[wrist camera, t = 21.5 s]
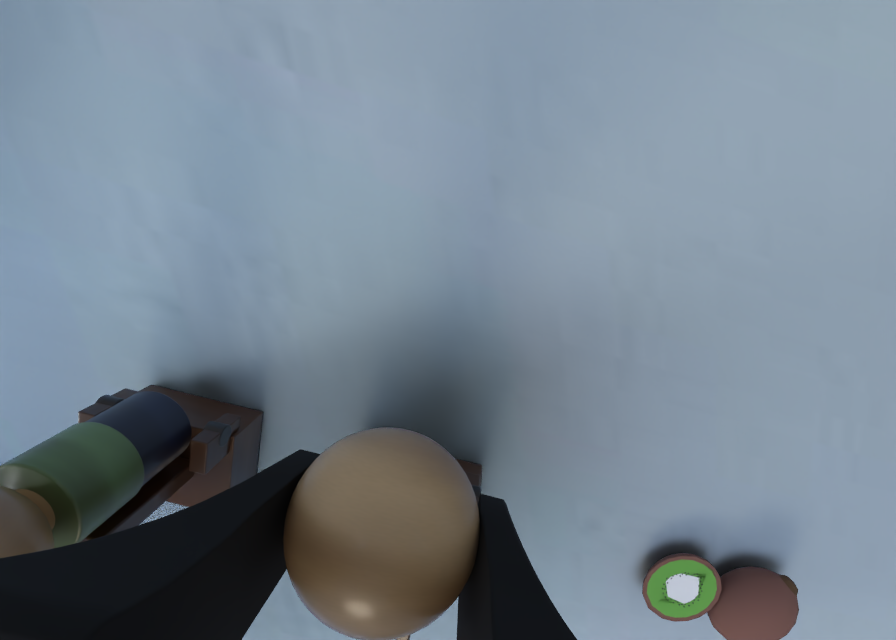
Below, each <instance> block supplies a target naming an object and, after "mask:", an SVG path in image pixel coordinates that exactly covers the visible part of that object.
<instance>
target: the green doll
mask: <svg viewBox="0 0 896 640" xmlns="http://www.w3.org/2000/svg"><path fill="white" fill-rule="evenodd" d="M191 435H192V429H191V424H190V421H189V418H188V416H187V414H186V413H185V411H184V410H183V408H182V407H181V406H180V405H179V404H178V403H177V402H176V401H174V400H173V399H172V398H170V397H168V396H167V395H164V394H162V393H159V392H154V391H143V392H138V393H136V394H134V395H132V396H130V397H128V398H127V399H125V400H123V401H121V402H119V403H118V404H116V405H114V406H112V407H111V408H109V409H107V410H105V411H103V412H102V413H100V414H98V415H96V416H95V417H93V418H91V419H89V420H88V421H86V422H83V423H78V424H75V425H73V426H71V427H69V428H67V429H65V430H64V431H62V432H60V433H58V434H56V435H55V436H53V437H51V438H49V439H47V440H46V441H44V442H42V443H40V444H38V445H37V446H35V447H33V448H31V449H29V450H28V451H26V452H24V453H22V454H20V455H19V456H17V457H15V458H13V459H11V460H10V461H8V462H6V463H4V464H2V465H1V466H0V558H5V557H10V556H16V555H21V554H27V553H33V552H38V551H43V550H48V549H53V548H58V547H62V546H66V545H71V544H75V543H79V542H81V541H82V540H83V539H84V538H86V537H87V536H88V535H89V534H90V533H92V532H93V531H94V530H95V529H96V528H98V527H99V526H100V525H101V524H102V523H104V522H105V521H106V520H107V519H108V518H109V517H111V516H112V515H113V514H114V513H115V512H117V511H118V510H119V509H120V508H121V507H123V506H124V505H125V504H126V503H127V502H129V501H130V500H131V499H132V498H133V497H134V496H135V495H136V494H137V493H138V492H139V490H140V489H141V487H142V486H143V485H144V484H146V483H147V482H148V481H149V480H150V479H152V478H153V477H154V476H155V475H156V474H158V473H159V472H160V471H161V470H162V469H164V468H165V467H166V466H167V465H168V464H170V463H171V462H172V461H173V460H174V459H176V458H177V457H178V456H179V455H180V454H182V453H183V452H184V451H185V450H186V449H187V447H188V445H189V443H190V440H191Z"/></svg>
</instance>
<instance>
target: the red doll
mask: <svg viewBox="0 0 896 640" xmlns="http://www.w3.org/2000/svg"><path fill="white" fill-rule="evenodd" d="M479 534H480V518H479V509H478V505H477V500H476V496H475V493H474V491H473V488H472V485H471V483H470V481H469V479H468V477H467V475H466V473H465V472H464V470H463V469H462V467H461V466H460V464H459V463H458V462H457V460H456V459H455V458H454V457H453V456H452V455H451V454H450V453H449V452H448V451H447V450H446V449H445V448H443V447H442V446H441V445H440V444H438V443H437V442H435V441H434V440H432V439H430V438H429V437H426V436H424V435H422V434H420V433H417V432H414V431H410V430H407V429H401V428H391V427H382V428H372V429H368V430H364V431H360V432H357V433H354V434H352V435H349V436H347V437H345V438H343V439H341V440H339V441H337V442H336V443H334V444H333V445H332V446H330V447H329V448H327V449H326V450H325V451H324V452H323V453H322V454H320V455H319V456H318V457H317V458H316V459H315V460H314V462H313V463H312V464H311V465H310V466H309V467H308V469H307V470H306V471H305V473H304V474H303V476H302V477H301V479H300V480H299V482H298V484H297V486H296V488H295V490H294V492H293V494H292V497H291V500H290V503H289V505H288V509H287V513H286V518H285V524H284V535H283V545H284V556H285V562H286V567H287V570H288V573H289V576H290V579H291V582H292V585H293V587H294V589H295V590H296V592H297V594H298V596H299V598H300V599H301V601H302V602H303V603H304V605H305V606H306V607H307V609H308V610H309V611H310V612H311V613H312V614H313V615H314V616H315V617H316V618H317V619H319V620H320V621H321V622H322V623H323V624H325V625H326V626H328V627H329V628H331V629H333V630H335V631H337V632H339V633H341V634H343V635H346V636H348V637H352V638H356V639H360V640H392V639H397V638H400V637H404V636H407V635H410V634H413V633H415V632H416V631H418V630H420V629H422V628H424V627H426V626H428V625H429V624H431V623H432V622H433V621H435V620H436V619H437V618H439V617H440V616H441V615H442V614H443V613H444V612H445V611H446V610H447V609H448V608H449V607H450V606H451V605H452V604H453V602H454V601H455V600H456V599H457V597H458V596H459V595H460V593H461V591H462V590H463V588H464V586H465V584H466V582H467V581H468V579H469V577H470V574H471V572H472V569H473V567H474V564H475V559H476V555H477V550H478V543H479Z"/></svg>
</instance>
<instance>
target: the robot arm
mask: <svg viewBox="0 0 896 640" xmlns="http://www.w3.org/2000/svg"><path fill="white" fill-rule="evenodd" d="M319 455H320V454H317V453H313V452H309V451H304V450H298V451H297V452H295V453H293V454H291V455H289V456H288V457H286V458H284V459H282V460H281V461H279V462H277V463H275V464H274V465H272V466H270V467H268V468H267V469H265V470H263V471H261V472H260V473H258V474H256V475H254V476H252V477H250V478H249V479H247V480H245V481H243V482H241V483H239V484H237V485H235V486H233V487H231V488H229V489H227V490H225V491H223V492H221V493H219V494H217V495H215V496H213V497H211V498H209V499H207V500H204V501H202V502H200V503H198V504H195V505H193V506H191V507H188V508H186V509H183V510H181V511H178V512H176V513H173V514H170V515H168V516H165V517H163V518H160V519H157V520H154V521H151V522H148V523H145V524H142V525H138V526H135V527H132V528H129V529H126V530H123V531H120V532H116V533H113V534H110V535H106V536H103V537H99V538H95V539H91V540H87V541H83V542H79V543H75V544H71V545H66V546H62V547H58V548H53V549H48V550H43V551H38V552H33V553H27V554H21V555H16V556H10V557H5V558H0V640H242V638H243V637H244V635H245V633H246V632H247V630H248V628H249V627H250V625H251V624H252V622H253V621H254V619H255V618H256V616H257V614H258V613H259V611H260V610H261V608H262V607H263V605H264V604H265V602H266V600H267V599H268V597H269V596H270V594H271V593H272V591H273V590H274V588H275V586H276V585H277V583H278V582H279V580H280V579H281V577H282V575H283V574H284V572H285V571H286V569H287V567H286V562H285V556H284V545H283V535H284V524H285V518H286V513H287V509H288V505H289V503H290V500H291V497H292V494H293V492H294V490H295V488H296V486H297V484H298V482H299V480H300V479H301V477H302V476H303V474H304V473H305V471H306V470H307V469H308V467H309V466H310V465H311V464H312V463H313V462H314V460H315V459H316V458H317V457H318V456H319ZM478 509H479V518H480V534H479V543H478V550H477V555H476V559H475V564H474V567H473V569H472V572H471V574H470V577H469V579H468V581H467V582H466V584H465V586H464V588H463V590H462V591H461V593H460V595H459V599H458V623H457V640H577V639H576V637H575V636H574V635H573V633H572V632H571V631H570V629H569V628H568V626H567V625H566V623H565V622H564V620H563V619H562V617H561V616H560V614H559V613H558V611H557V610H556V608H555V606H554V605H553V603H552V601H551V600H550V598H549V596H548V595H547V593H546V591H545V589H544V587H543V586H542V584H541V582H540V580H539V578H538V577H537V575H536V573H535V571H534V569H533V567H532V565H531V563H530V561H529V559H528V556H527V554H526V552H525V550H524V548H523V546H522V544H521V541H520V539H519V537H518V534H517V532H516V529H515V527H514V524H513V522H512V519H511V517H510V514H509V511H508V508H507V505H506V503H505V501H504V500H503V499H499V498H495V497H491V496H487V495H483V494H480V497H479V501H478Z"/></svg>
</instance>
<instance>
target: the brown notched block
mask: <svg viewBox="0 0 896 640" xmlns="http://www.w3.org/2000/svg"><path fill="white" fill-rule="evenodd" d="M143 391H154V392H159V393H162V394H164V395H167V396H168V397H170V398H172V399H173V400H174V401H176V402H177V403H178V404H179V405H180V406H181V407H182V408H183V410H184V411H185V413H186V414H187V416H188V418H189V421H190V424H191V429H192V435H191V440H190V443H189V445H188V447H187V449H186V450H185V451H184V452H183V453H182V454H180V455H179V456H178V457H177V458H176V459H174V460H173V461H172V462H171V463H170V464H168V465H167V466H166V467H165V468H164V469H162V470H161V471H160V472H159V473H158V474H156V475H155V476H154V477H153V478H152V479H150V480H149V481H148V482H147V483H146V484H144V485H143V486H142V487H141V489H140V490H139V492H138V493H137V494H136V495H135V496H134V497H133V498H132V499H131V500H130V501H129V502H127V503H126V504H125V505H124V506H123V507H121V508H120V509H119V510H118V511H117V512H115V513H114V514H113V515H112V516H111V517H109V518H108V519H107V520H106V521H105V522H104V523H102V524H101V525H100V526H99V527H98V528H96V529H95V530H94V531H93V532H92V533H90V534H89V535H88V536H87V537H86V538H84V539H83V540H82V541H81V542H83V541H87V540H91V539H95V538H99V537H103V536H106V535H110V534H113V533H116V532H120V531H123V530H126V529H129V528H132V527H135V526H138V525H140V524H141V523H142V522H143V521H144V520H145V519H146V518H147V517H149V516H150V515H151V514H152V513H153V512H154V511H155V510H156V509H157V508H159V507H160V506H161V505H162V504H163V503H164V502H165V501H168V502H172V503H176V504H180V505H183V506H187V507H191V506H193V505H195V504H198V503H200V502H202V501H204V500H207V499H209V498H211V497H213V496H215V495H217V494H219V493H221V492H223V491H225V490H227V489H229V488H231V487H233V486H235V485H237V484H239V483H241V482H243V481H245V480H247V479H249V478H250V477H252V476H254V475H256V473H257V464H258V455H259V446H260V436H261V427H262V418H263V412H262V411H258V410H254V409H250V408H245V407H241V406H237V405H233V404H229V403H225V402H221V401H217V400H213V399H208V398H204V397H200V396H196V395H192V394H188V393H184V392H180V391H176V390H171V389H167V388H163V387H159V386H155V385H150V386H148V387H146V388H144V389H142V390H140V391H134V390H130V389H123V390H121V391H119V392H117V393H115V394H113V395H111V396H110V395H104V396H102V397H100V398H99V399H98V400H97V402H96V403H95V404H93V405H91V406H89V407H87V408H85V409H83V410H81V411H79V412H78V423H83V422H86V421H88V420H89V419H91V418H93V417H95V416H96V415H98V414H100V413H102V412H103V411H105V410H107V409H109V408H111V407H112V406H114V405H116V404H118V403H119V402H121V401H123V400H125V399H127V398H128V397H130V396H132V395H134V394H136V393H138V392H143Z"/></svg>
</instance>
